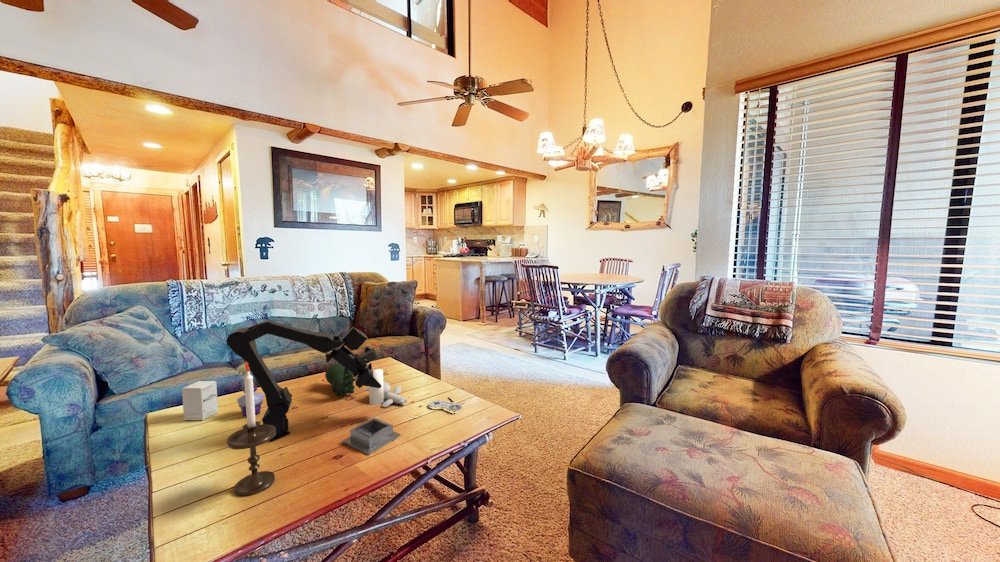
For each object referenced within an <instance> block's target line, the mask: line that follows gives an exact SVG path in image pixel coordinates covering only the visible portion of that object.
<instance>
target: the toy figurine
mask: <svg viewBox="0 0 1000 562" xmlns="http://www.w3.org/2000/svg"><path fill="white" fill-rule="evenodd" d="M324 375H325V376H324V377H325V380H326V381H327V383H328V384H330V385H331V390H332V392H335V395H336V396H340V397H344V396H345V395H346V394H348V393H349V394H354V393H355V390H354V389H355V387H356V385H354V382H355V378H356V377H353V374H352V373H350V372H349V371H348V370H347V371H345V370H344V367H342V366H341V365H340V364H339V363H334V364H330V366H329V367H328V368H327V369H326V372H325V374H324Z"/></svg>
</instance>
